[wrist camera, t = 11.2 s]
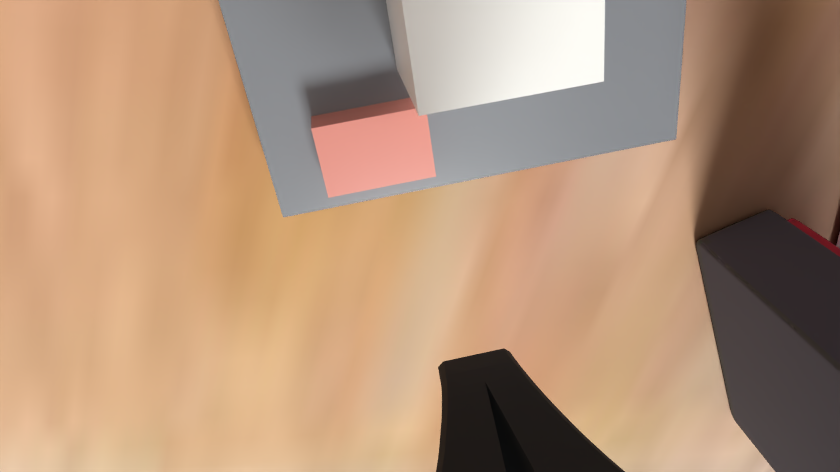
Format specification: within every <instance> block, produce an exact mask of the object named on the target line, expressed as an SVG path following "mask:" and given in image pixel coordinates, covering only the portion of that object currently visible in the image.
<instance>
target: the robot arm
mask: <svg viewBox="0 0 840 472" xmlns="http://www.w3.org/2000/svg"><path fill="white" fill-rule="evenodd" d="M836 246H837V247H838V248H840V233H839V237H838V241H837V245H836ZM438 369H439V375H440V380H441V387H442V422H441V435H440V447H439V456H438V463H437V470H436V472H625V471H623V470H622V469H621V468H620V467H619V466H617V465H616V464H615V463H614V462H613V461H612V460H611V459H609V458H608V457H607V456H606V455H605V454H604V453H603V452H602V451H601V450H600V449H598V448H597V447H596V446H595V445H594V444H593V443H592V442H591V441H590V440H589V439H588V438H587V437H585V436H584V435H583V434H582V433H581V432H580V431H579V430H578V429H577V428H576V427H575V426H574V425H573V424H572V423H571V422H570V421H569V420H568V419H567V418H566V417H565V416H564V415H563V414H562V413H561V412H560V411H559V410H558V408H557V407H556V406H555V405H554V404H553V403H552V402H551V401H550V400H549V399H548V398H547V397H546V396H545V395H544V393H543V392H542V391H541V390H540V389H539V388H538V387H537V385H536V384H535V383H534V382H533V381H532V380H531V379H530V377H529V376H528V375H527V374H526V372H525V371H524V370H523V369H522V368H521V366H520V365H519V364H518V362H517V361H516V360H515V358H514V357H513V356H512V354H511V353H510V352H509V351H507V350H506V349H500V350H495V351H490V352H486V353H481V354H476V355H472V356H467V357H462V358H458V359H453V360H449V361H444V362H442V364H441V365H440V366H439V367H438Z"/></svg>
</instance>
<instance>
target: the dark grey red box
mask: <svg viewBox="0 0 840 472" xmlns="http://www.w3.org/2000/svg"><path fill="white" fill-rule="evenodd" d="M696 248H697V253H698V258H699V263H700V267H701V272H702V277H703V281H704V286H705V291H706V295H707V300H708V305H709V310H710V314H711V319H712V324H713V328H714V333H715V338H716V343H717V347H718V352H719V357H720V361H721V366H722V371H723V375H724V380H725V385H726V390H727V394H728V399H729V404H730V408H731V413H732V416H733V418H734V420H735V421H736V423H737V424H738V425H739V427H740V428H741V429H742V430H743V432H744V433H745V434H746V435H747V437H748V438H749V439H750V440H751V442H752V443H753V444H754V445H755V447H756V448H757V449H758V450H759V452H760V453H761V454H762V455H763V457H764V458H765V459H766V460H767V462H768V463H769V464H770V465H771V467H772V468H773V469H774V470H775V472H840V248H838V247H837V246H835V245H834V244H832V243H831V242H829V241H828V240H826V239H825V238H823V237H822V236H820V235H819V234H817V233H816V232H814V231H813V230H811V229H810V228H808V227H807V226H805V225H804V224H802V223H801V222H799V221H798V220H796V219H793V218H791V219H789V220H786V219H784V218H783V217H781V216H780V215H778V214H777V213H775V212H774V211H771V210H766V211H763V212H761V213H759V214H756V215H754V216H752V217H749V218H747V219H745V220H742V221H740V222H738V223H735V224H733V225H731V226H729V227H726V228H724V229H722V230H719V231H717V232H715V233H712V234H710V235H708V236H706V237H704V238H701V239H699V240H698V241H697V243H696Z"/></svg>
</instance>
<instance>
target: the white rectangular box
mask: <svg viewBox="0 0 840 472" xmlns="http://www.w3.org/2000/svg"><path fill="white" fill-rule="evenodd" d="M386 4H387V10H388V17H389V23H390V29H391V35H392V42H393V48H394V54H395V60H396V67H397V70H398V72H399V75H400V77H401V79H402V81H403V83H404V85H405V87H406V90H407V92H408V94H409V96H410V98H411V100H412V103H413V105H414V107H415V109H416V111H417V113H418V116H421V115H427V114H432V113H438V112H443V111H448V110H454V109H459V108H464V107H470V106H475V105H480V104H486V103H491V102H497V101H502V100H507V99H513V98H518V97H523V96H529V95H534V94H540V93H545V92H550V91H556V90H561V89H566V88H572V87H577V86H583V85H588V84H593V83H599V82H604V41H605V0H386Z"/></svg>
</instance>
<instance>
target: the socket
mask: <svg viewBox="0 0 840 472" xmlns="http://www.w3.org/2000/svg"><path fill="white" fill-rule="evenodd" d="M218 1H219V4H220V7H221V11H222V14H223V17H224V21H225V24H226V28H227V31H228V34H229V38H230V41H231V44H232V48H233V51H234V54H235V58H236V61H237V64H238V68H239V71H240V74H241V78H242V81H243V84H244V88H245V91H246V94H247V98H248V101H249V104H250V108H251V111H252V115H253V118H254V121H255V125H256V128H257V131H258V135H259V138H260V141H261V145H262V148H263V151H264V155H265V158H266V161H267V165H268V168H269V171H270V175H271V178H272V181H273V185H274V188H275V192H276V195H277V198H278V202H279V205H280V208H281V212H282V215H283V217H287V216H293V215H298V214H303V213H308V212H313V211H318V210H323V209H328V208H333V207H338V206H343V205H348V204H353V203H358V202H363V201H368V200H373V199H378V198H383V197H388V196H393V195H398V194H403V193H408V192H413V191H418V190H423V189H428V188H433V187H438V186H443V185H448V184H453V183H458V182H463V181H468V180H473V179H479V178H484V177H489V176H494V175H499V174H504V173H509V172H514V171H519V170H524V169H529V168H534V167H539V166H544V165H549V164H554V163H559V162H564V161H569V160H574V159H579V158H584V157H589V156H594V155H599V154H604V153H609V152H614V151H619V150H624V149H629V148H634V147H639V146H644V145H649V144H654V143H660V142H665V141H670V140H675V139H676V134H677V120H678V107H679V93H680V80H681V67H682V53H683V40H684V26H685V13H686V0H605V41H604V82H599V83H593V84H588V85H583V86H577V87H572V88H566V89H561V90H556V91H550V92H545V93H540V94H534V95H529V96H523V97H518V98H513V99H507V100H502V101H497V102H491V103H486V104H480V105H475V106H470V107H464V108H459V109H454V110H448V111H443V112H438V113H432V114H427V115H421V116H418V113H417V111H416V109H415V107H414V105H413V103H412V100H411V98H410V96H409V94H408V92H407V90H406V87H405V85H404V83H403V81H402V79H401V77H400V75H399V72H398V70H397V67H396V60H395V54H394V48H393V42H392V35H391V29H390V23H389V17H388V10H387V4H386V0H218Z"/></svg>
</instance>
